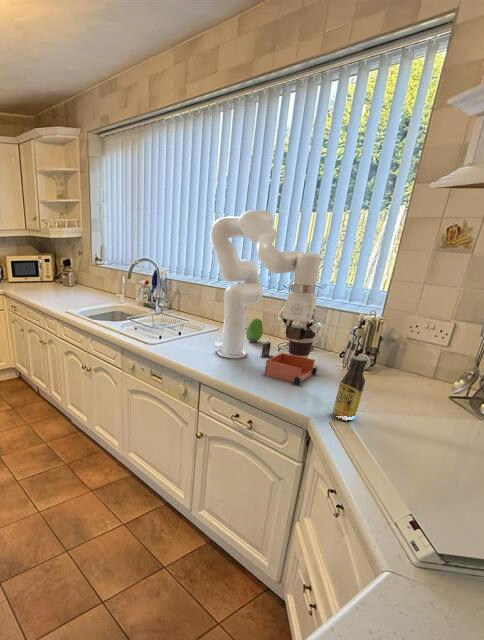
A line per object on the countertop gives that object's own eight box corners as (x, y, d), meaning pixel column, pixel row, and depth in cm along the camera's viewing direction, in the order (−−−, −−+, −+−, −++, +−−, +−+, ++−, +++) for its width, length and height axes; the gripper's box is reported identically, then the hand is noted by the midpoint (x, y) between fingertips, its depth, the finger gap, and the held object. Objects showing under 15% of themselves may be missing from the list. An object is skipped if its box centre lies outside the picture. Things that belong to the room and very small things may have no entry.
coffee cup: (286, 365, 167) (292, 330, 161) (283, 357, 176) (288, 325, 170) (312, 366, 164) (318, 331, 159) (307, 359, 173) (313, 326, 168)
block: (286, 338, 149) (288, 326, 148) (291, 335, 152) (293, 324, 150) (298, 340, 146) (300, 328, 144) (303, 337, 149) (305, 326, 147)
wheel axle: (293, 384, 147) (294, 377, 146) (310, 373, 157) (312, 367, 156) (298, 386, 146) (300, 379, 145) (316, 374, 156) (317, 368, 155)
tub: (253, 372, 159) (257, 346, 155) (269, 364, 168) (272, 339, 163) (297, 383, 147) (302, 355, 143) (312, 374, 156) (317, 348, 151)
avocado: (262, 344, 195) (265, 320, 191) (245, 343, 197) (248, 319, 192) (260, 339, 202) (263, 316, 198) (244, 339, 204) (247, 316, 200)
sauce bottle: (327, 415, 124) (340, 355, 116) (341, 411, 126) (355, 352, 118) (345, 424, 118) (360, 362, 110) (360, 420, 120) (376, 359, 112)
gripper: (276, 287, 145) (269, 335, 152) (324, 292, 134) (314, 344, 141) (285, 285, 150) (278, 331, 157) (332, 290, 139) (322, 340, 146)
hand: (295, 337), depth 149 cm, fingers closed on block, 4 cm apart
